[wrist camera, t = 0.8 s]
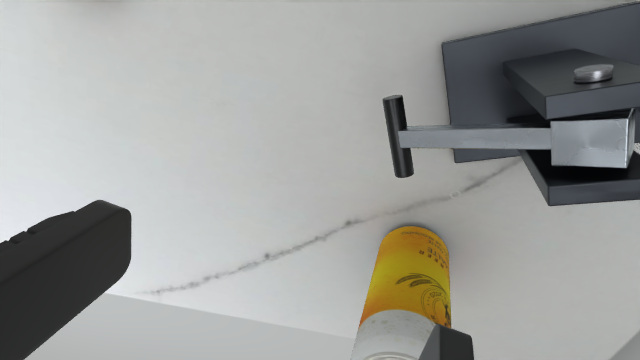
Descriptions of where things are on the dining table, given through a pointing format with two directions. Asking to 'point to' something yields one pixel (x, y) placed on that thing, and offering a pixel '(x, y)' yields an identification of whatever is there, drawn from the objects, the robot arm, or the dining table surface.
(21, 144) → the dining table surface
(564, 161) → the tap lever
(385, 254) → the beer can
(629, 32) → the bracket
